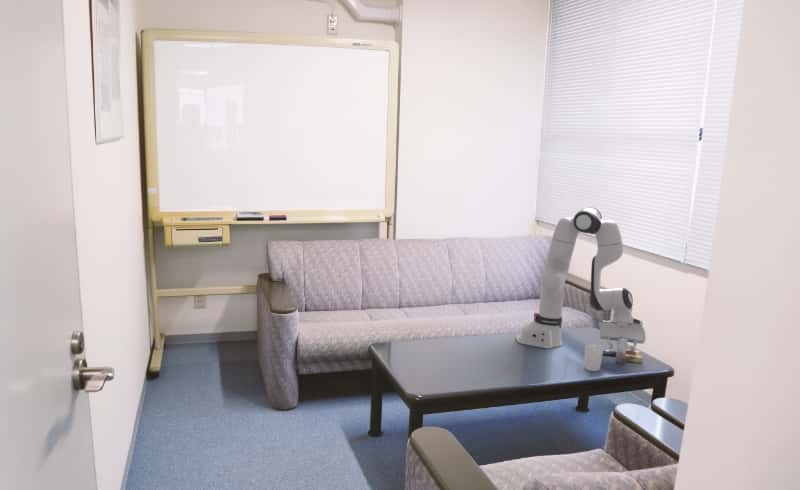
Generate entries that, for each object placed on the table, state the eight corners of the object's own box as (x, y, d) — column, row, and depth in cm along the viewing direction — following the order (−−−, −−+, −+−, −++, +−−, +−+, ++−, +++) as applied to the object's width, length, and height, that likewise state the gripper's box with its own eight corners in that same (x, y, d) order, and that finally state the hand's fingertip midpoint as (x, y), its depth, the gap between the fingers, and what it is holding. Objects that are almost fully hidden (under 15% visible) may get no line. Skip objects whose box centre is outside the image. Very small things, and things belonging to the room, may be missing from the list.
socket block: (619, 360, 283) (619, 354, 283) (617, 352, 293) (617, 347, 292) (641, 362, 281) (642, 357, 281) (639, 355, 290) (639, 350, 290)
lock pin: (598, 350, 292) (598, 354, 291) (598, 348, 290) (598, 353, 289) (615, 352, 290) (615, 357, 289) (616, 350, 288) (616, 355, 287)
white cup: (602, 373, 267) (604, 351, 265) (583, 370, 268) (585, 349, 266) (600, 366, 274) (602, 345, 272) (582, 364, 276) (584, 343, 274)
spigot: (615, 364, 278) (618, 339, 276) (614, 360, 282) (617, 336, 280) (624, 365, 277) (627, 340, 275) (624, 362, 281) (627, 337, 279)
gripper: (600, 316, 285) (599, 343, 278) (646, 321, 280) (646, 348, 273) (598, 323, 290) (597, 349, 283) (643, 328, 285) (643, 354, 278)
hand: (621, 349), depth 278 cm, fingers open, 8 cm apart
